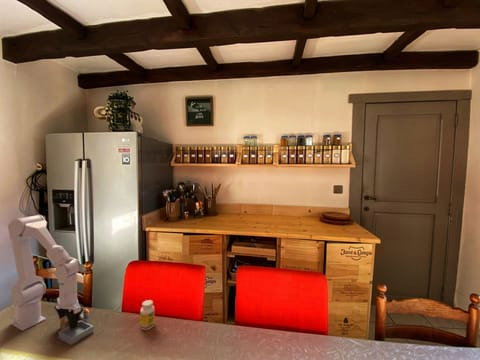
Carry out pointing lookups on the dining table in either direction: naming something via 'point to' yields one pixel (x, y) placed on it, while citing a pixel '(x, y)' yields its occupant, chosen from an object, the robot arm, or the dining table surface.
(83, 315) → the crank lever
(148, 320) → the supplement bottle
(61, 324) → the block
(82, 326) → the tray
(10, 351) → the dining table surface
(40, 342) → the dining table surface
